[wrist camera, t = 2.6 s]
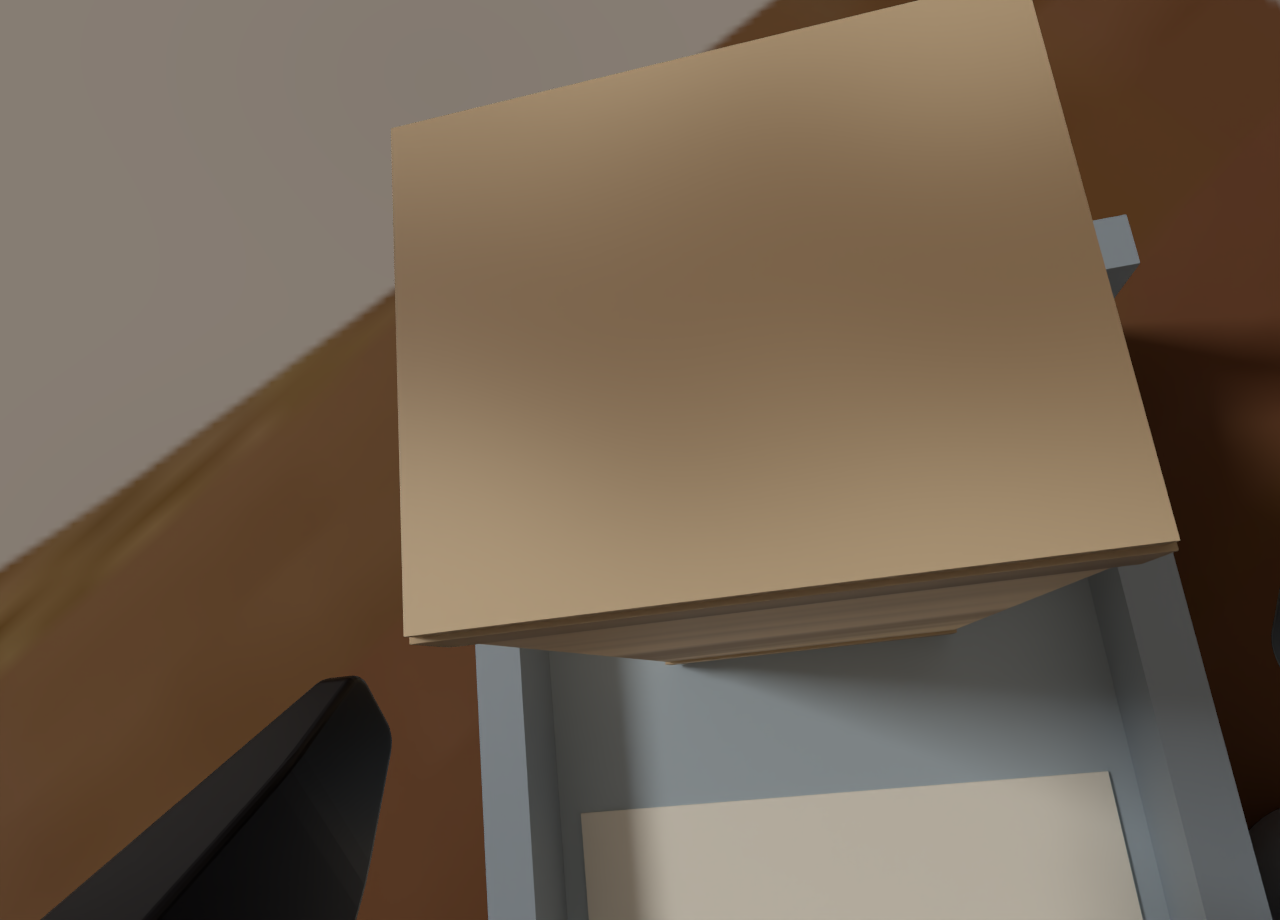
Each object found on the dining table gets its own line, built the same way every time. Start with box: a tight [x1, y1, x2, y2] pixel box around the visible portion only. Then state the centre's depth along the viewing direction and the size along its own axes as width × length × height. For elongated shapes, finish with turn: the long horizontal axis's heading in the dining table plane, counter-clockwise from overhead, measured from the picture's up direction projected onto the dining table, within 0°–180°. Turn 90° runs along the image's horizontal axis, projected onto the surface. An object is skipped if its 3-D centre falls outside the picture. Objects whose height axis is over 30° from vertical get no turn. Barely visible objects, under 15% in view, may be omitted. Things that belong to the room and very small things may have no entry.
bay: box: [475, 215, 1280, 920], centre depth 16 cm, size 16×18×6 cm
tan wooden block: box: [391, 0, 1180, 665], centre depth 13 cm, size 5×6×13 cm
